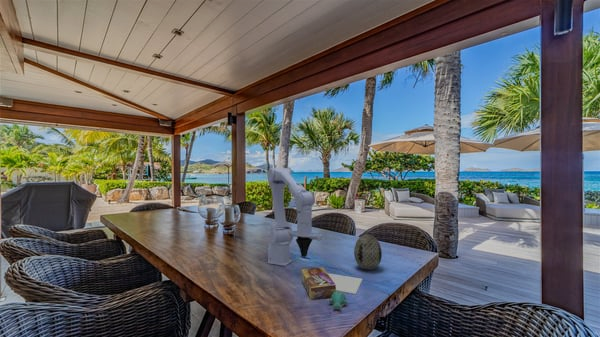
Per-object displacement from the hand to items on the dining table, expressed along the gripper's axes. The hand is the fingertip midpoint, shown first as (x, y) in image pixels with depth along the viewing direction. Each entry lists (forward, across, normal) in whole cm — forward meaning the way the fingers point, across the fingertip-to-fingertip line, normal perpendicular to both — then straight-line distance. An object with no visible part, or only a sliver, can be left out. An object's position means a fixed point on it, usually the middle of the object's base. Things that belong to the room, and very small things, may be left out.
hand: (304, 256), depth 107 cm
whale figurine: (+9, -20, +15) cm, 26 cm away
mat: (+8, -14, -2) cm, 16 cm away
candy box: (+6, -4, +1) cm, 7 cm away
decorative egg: (+8, -20, -22) cm, 31 cm away
